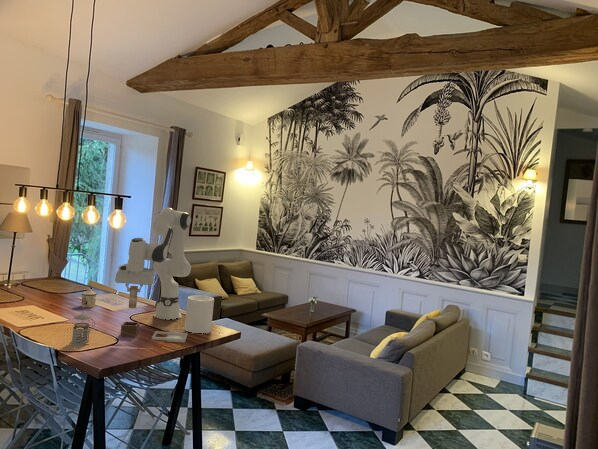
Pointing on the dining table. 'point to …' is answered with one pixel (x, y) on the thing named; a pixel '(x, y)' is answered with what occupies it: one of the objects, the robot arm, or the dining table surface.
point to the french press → (81, 330)
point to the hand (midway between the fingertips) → (133, 291)
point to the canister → (199, 314)
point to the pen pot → (129, 329)
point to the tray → (171, 336)
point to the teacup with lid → (88, 299)
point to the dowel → (133, 296)
